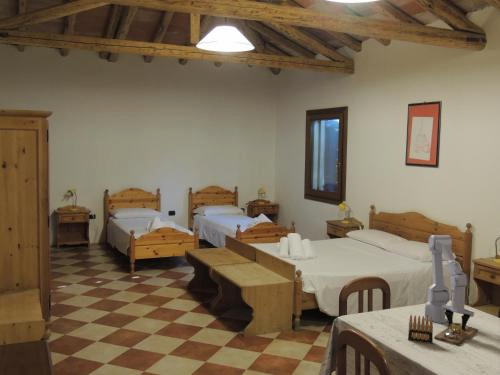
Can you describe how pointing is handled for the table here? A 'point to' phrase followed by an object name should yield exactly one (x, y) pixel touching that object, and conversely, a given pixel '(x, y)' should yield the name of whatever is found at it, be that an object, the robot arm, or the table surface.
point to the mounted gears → (453, 333)
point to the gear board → (459, 339)
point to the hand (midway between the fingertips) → (456, 327)
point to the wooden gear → (456, 327)
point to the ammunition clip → (421, 330)
